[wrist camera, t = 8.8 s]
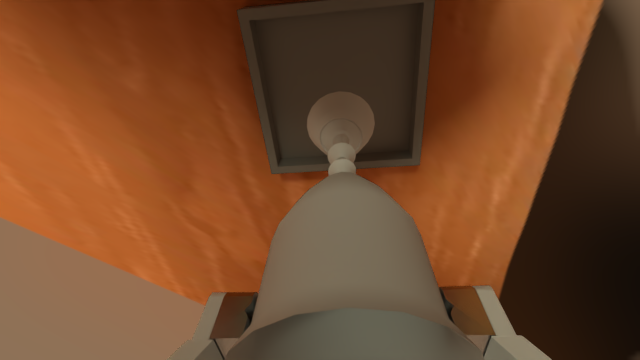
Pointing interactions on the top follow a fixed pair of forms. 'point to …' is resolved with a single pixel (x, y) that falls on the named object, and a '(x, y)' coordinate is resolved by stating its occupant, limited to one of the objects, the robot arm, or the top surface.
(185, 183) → the top surface
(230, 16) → the top surface
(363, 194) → the chalice
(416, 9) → the tray
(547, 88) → the top surface
